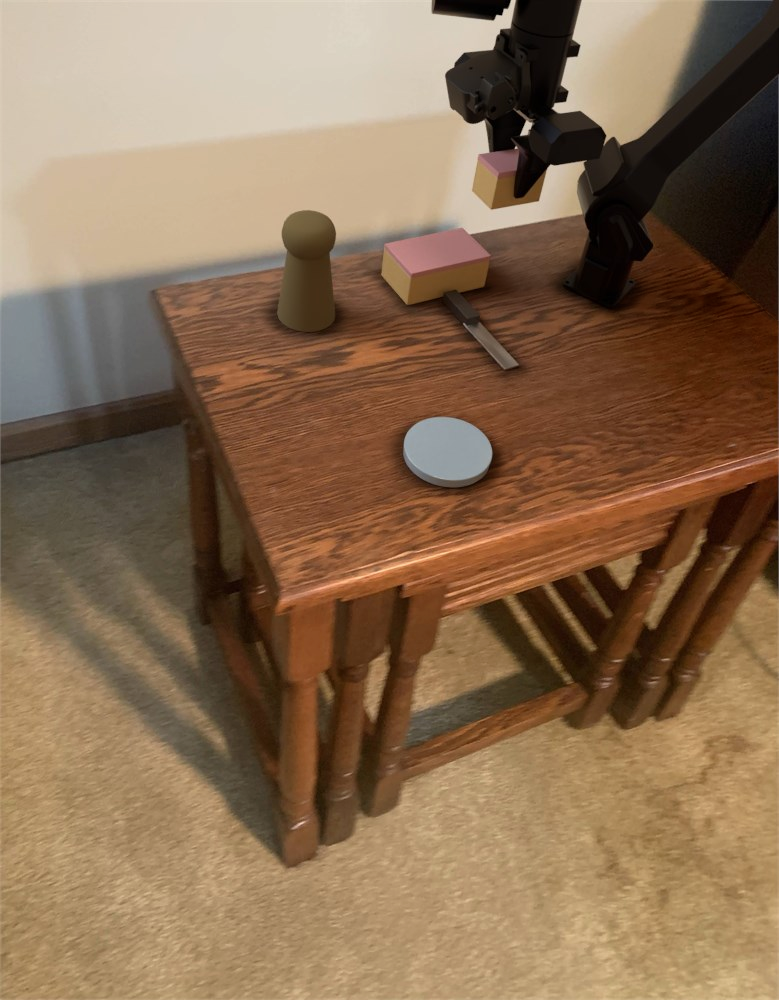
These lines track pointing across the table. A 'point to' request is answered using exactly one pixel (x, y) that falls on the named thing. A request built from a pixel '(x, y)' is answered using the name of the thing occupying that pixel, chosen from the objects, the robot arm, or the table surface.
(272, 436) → the table surface
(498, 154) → the cake slice
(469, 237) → the cake
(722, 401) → the table surface
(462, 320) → the knife
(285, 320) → the pepper mill
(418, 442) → the plate
